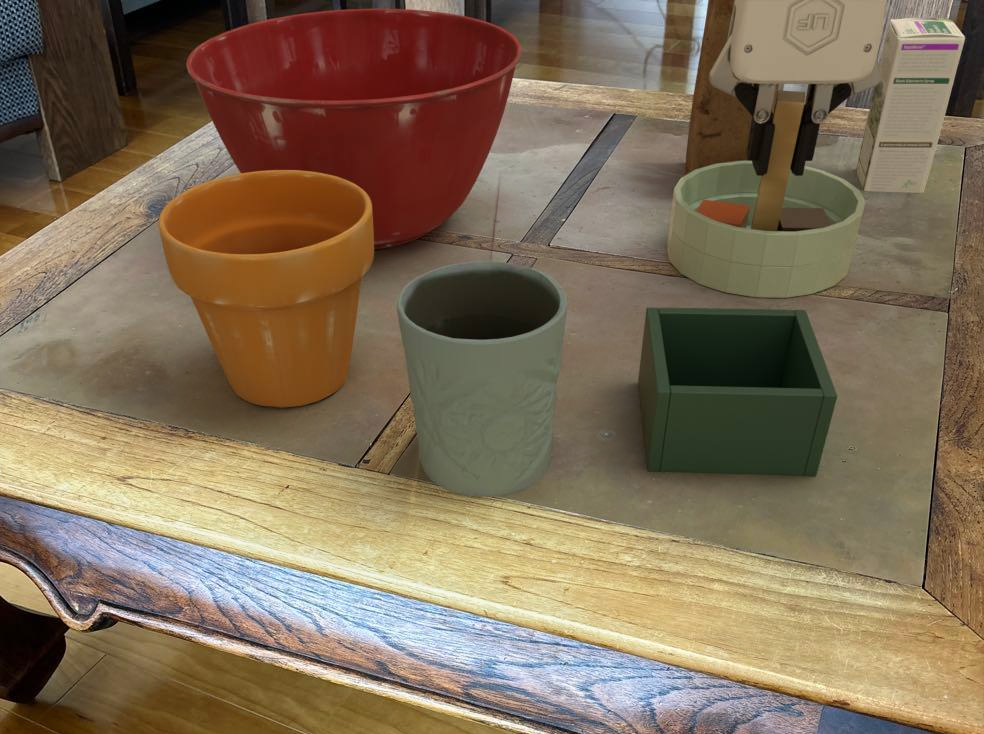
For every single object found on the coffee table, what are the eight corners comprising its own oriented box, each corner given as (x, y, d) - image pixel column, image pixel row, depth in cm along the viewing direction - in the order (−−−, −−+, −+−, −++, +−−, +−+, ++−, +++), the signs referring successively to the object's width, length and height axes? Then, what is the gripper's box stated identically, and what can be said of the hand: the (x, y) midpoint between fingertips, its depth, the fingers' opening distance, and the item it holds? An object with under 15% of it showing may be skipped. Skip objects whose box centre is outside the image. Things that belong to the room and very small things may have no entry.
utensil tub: (786, 392, 73) (805, 309, 69) (814, 483, 65) (837, 396, 61) (637, 389, 74) (646, 306, 70) (646, 478, 66) (657, 391, 62)
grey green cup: (517, 528, 63) (521, 357, 55) (377, 482, 67) (362, 316, 59) (582, 442, 69) (595, 278, 61) (451, 404, 73) (447, 246, 65)
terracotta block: (742, 249, 89) (750, 205, 87) (732, 269, 86) (740, 224, 84) (697, 242, 90) (703, 198, 88) (686, 261, 88) (692, 217, 85)
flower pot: (230, 323, 83) (201, 164, 74) (401, 334, 81) (391, 172, 72) (165, 422, 72) (122, 249, 64) (360, 437, 70) (342, 261, 62)
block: (758, 209, 97) (800, -27, 84) (678, 204, 98) (707, -29, 85) (760, 167, 105) (799, -55, 92) (686, 162, 106) (714, -57, 93)
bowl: (828, 226, 94) (843, 160, 90) (865, 306, 82) (884, 235, 78) (660, 224, 95) (667, 159, 91) (673, 303, 84) (683, 233, 80)
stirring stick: (774, 236, 86) (805, 91, 77) (773, 248, 85) (804, 102, 76) (749, 233, 86) (777, 89, 78) (748, 245, 85) (776, 100, 76)
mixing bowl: (297, 152, 111) (279, -5, 101) (552, 179, 104) (559, 13, 94) (161, 265, 91) (120, 84, 81) (463, 309, 84) (460, 115, 74)
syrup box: (924, 198, 98) (971, 34, 88) (859, 196, 98) (899, 34, 89) (913, 175, 102) (957, 17, 92) (851, 173, 103) (888, 16, 93)
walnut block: (813, 252, 88) (823, 207, 86) (822, 273, 85) (832, 228, 83) (765, 251, 89) (774, 207, 86) (773, 273, 86) (782, 227, 83)
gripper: (712, -90, 67) (678, 187, 79) (967, -95, 65) (892, 188, 77) (700, -111, 72) (670, 151, 84) (934, -115, 71) (870, 152, 83)
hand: (777, 167), depth 81 cm, fingers closed on stirring stick, 2 cm apart
